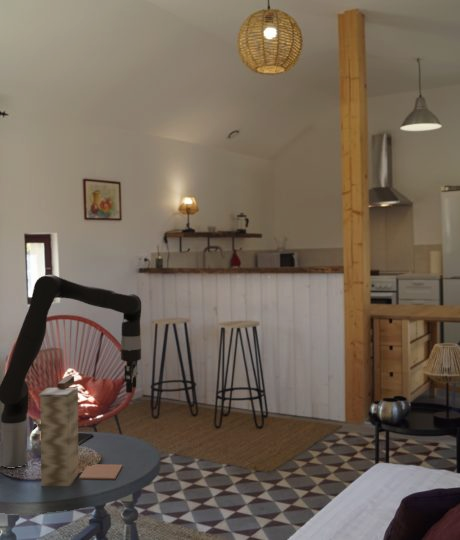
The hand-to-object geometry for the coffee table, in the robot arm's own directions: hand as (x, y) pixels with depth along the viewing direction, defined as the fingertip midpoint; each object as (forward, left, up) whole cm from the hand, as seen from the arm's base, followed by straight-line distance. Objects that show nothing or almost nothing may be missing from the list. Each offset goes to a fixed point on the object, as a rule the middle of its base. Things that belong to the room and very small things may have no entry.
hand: (131, 389), depth 249 cm
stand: (-23, -15, -29) cm, 40 cm away
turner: (-23, -12, +3) cm, 26 cm away
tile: (-10, -7, -29) cm, 32 cm away
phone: (-29, +32, -30) cm, 52 cm away
